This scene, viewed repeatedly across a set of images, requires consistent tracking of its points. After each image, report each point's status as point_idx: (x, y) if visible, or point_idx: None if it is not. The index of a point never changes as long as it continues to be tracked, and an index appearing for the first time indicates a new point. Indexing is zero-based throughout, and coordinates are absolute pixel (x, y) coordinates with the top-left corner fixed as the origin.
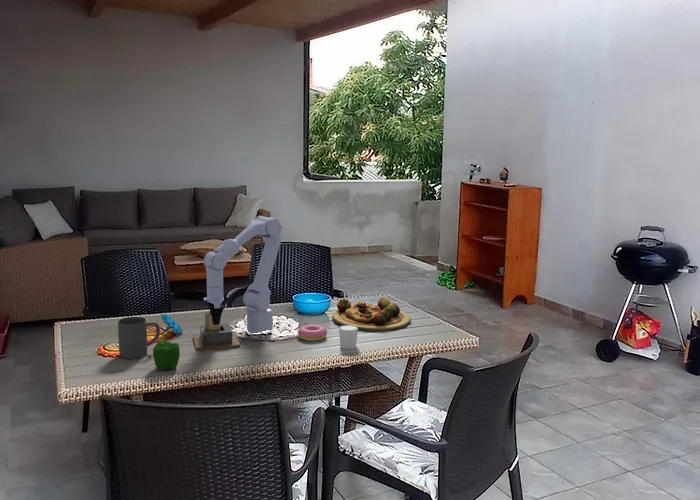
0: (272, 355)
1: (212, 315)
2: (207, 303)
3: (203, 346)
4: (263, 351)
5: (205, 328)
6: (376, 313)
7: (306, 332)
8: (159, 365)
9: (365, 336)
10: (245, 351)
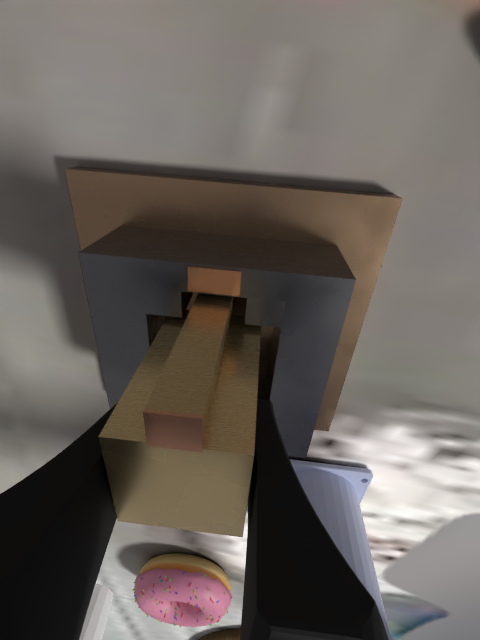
0: (8, 458)
1: (53, 463)
2: (257, 618)
3: (90, 226)
4: (54, 448)
5: (191, 307)
6: None
7: (144, 591)
8: None
9: (164, 626)
10: (55, 399)
